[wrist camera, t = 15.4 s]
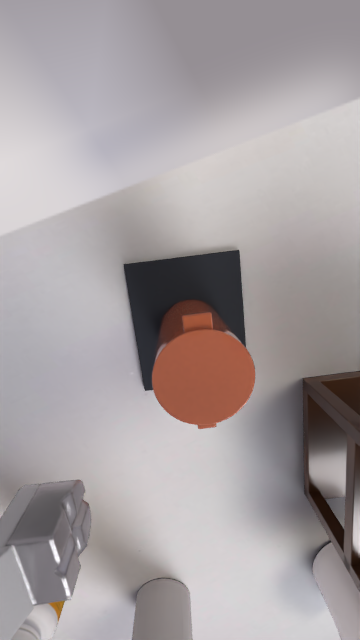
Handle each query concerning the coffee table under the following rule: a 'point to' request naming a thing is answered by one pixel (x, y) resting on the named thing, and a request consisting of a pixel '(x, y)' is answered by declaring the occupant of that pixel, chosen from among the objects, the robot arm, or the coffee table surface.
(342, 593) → the mug
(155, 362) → the orange two-handled pot
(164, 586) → the bottle
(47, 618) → the supplement bottle
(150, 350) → the mat
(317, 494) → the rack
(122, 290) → the coffee table surface
